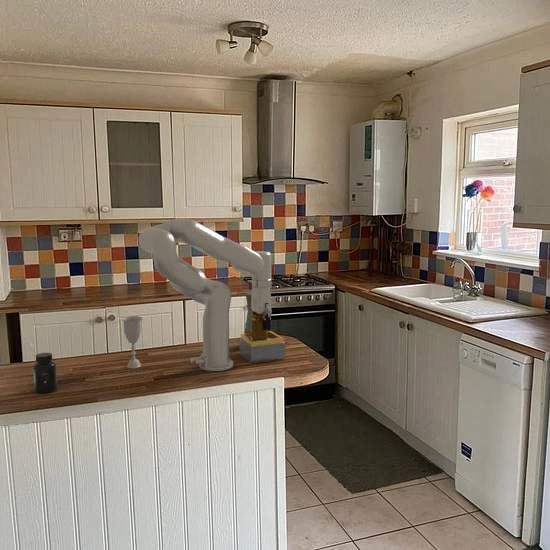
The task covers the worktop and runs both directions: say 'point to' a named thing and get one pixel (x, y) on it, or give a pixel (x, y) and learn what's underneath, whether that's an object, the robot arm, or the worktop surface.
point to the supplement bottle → (44, 374)
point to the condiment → (258, 328)
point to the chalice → (132, 336)
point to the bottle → (249, 310)
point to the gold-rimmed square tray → (262, 347)
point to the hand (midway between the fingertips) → (261, 326)
